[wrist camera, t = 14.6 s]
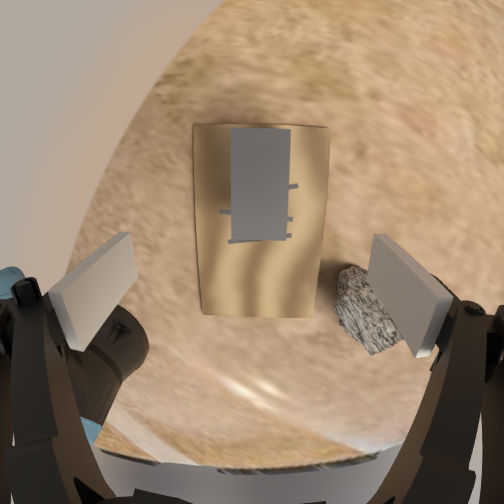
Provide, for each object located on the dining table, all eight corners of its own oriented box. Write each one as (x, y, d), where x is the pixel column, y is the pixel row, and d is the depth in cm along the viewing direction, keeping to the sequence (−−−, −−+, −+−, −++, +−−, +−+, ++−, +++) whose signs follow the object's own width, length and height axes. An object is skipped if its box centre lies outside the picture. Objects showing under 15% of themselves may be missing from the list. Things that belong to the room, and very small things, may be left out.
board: (203, 310, 41) (202, 314, 40) (195, 125, 31) (193, 125, 30) (311, 313, 40) (312, 317, 39) (328, 128, 30) (330, 128, 29)
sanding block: (280, 214, 34) (286, 240, 25) (239, 213, 34) (231, 239, 26) (283, 132, 30) (290, 129, 22) (239, 131, 30) (230, 127, 22)
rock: (312, 271, 37) (331, 324, 29) (363, 236, 35) (396, 283, 26) (357, 326, 44) (376, 373, 36) (398, 300, 42) (423, 344, 33)
